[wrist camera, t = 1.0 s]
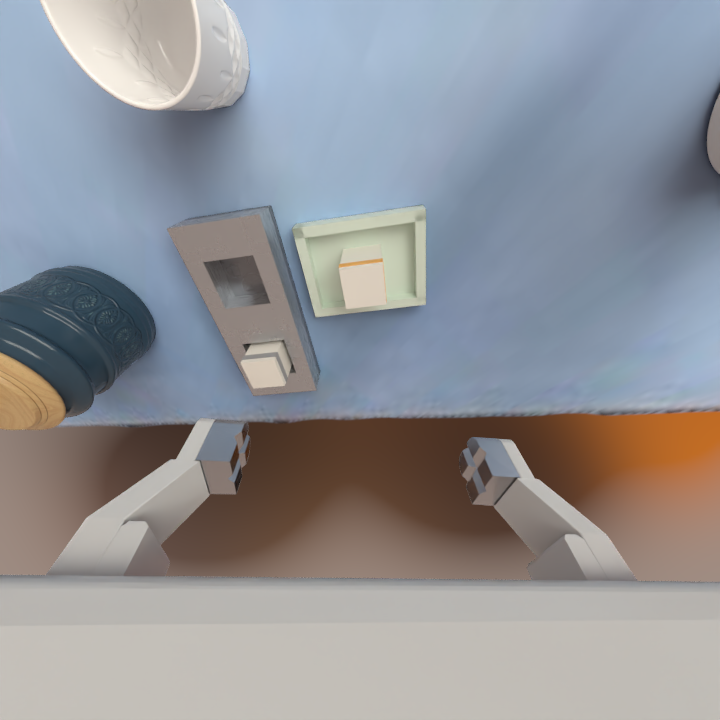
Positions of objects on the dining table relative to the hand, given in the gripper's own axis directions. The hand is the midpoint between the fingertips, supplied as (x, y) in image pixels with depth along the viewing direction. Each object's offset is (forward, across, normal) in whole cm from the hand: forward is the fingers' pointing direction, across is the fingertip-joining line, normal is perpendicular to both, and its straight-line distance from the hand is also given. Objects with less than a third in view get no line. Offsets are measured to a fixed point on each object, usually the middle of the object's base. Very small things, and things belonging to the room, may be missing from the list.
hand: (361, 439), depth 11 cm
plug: (+25, -2, +2) cm, 25 cm away
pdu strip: (+26, +10, +9) cm, 30 cm away
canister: (+28, +30, +13) cm, 43 cm away
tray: (+26, -2, +2) cm, 26 cm away
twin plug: (+26, +8, +14) cm, 30 cm away
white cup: (+26, +13, -13) cm, 32 cm away
